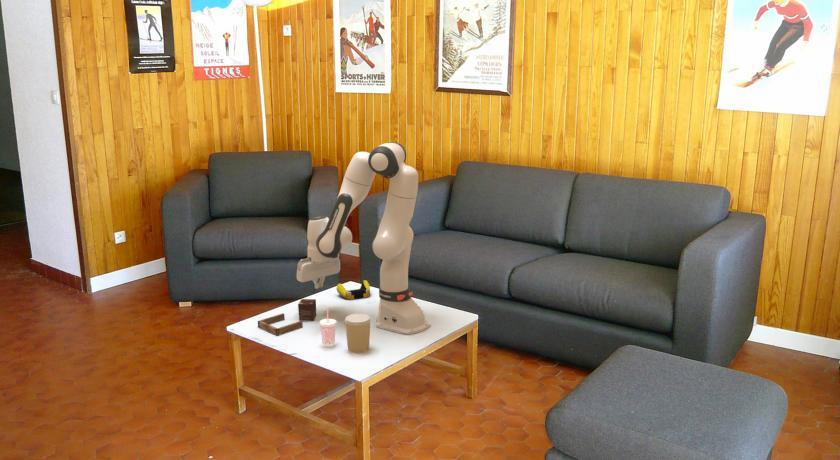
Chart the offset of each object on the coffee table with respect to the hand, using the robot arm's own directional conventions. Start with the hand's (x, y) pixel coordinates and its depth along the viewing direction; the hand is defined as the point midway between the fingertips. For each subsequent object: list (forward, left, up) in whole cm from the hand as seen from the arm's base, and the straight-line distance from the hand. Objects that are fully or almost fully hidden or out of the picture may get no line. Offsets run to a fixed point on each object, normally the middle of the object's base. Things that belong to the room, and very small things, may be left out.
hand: (318, 287), depth 300 cm
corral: (-1, +20, -11) cm, 23 cm away
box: (-1, +7, -12) cm, 13 cm away
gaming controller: (+6, -25, -12) cm, 28 cm away
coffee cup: (-39, +13, -12) cm, 42 cm away
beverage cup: (-28, +18, -12) cm, 35 cm away
